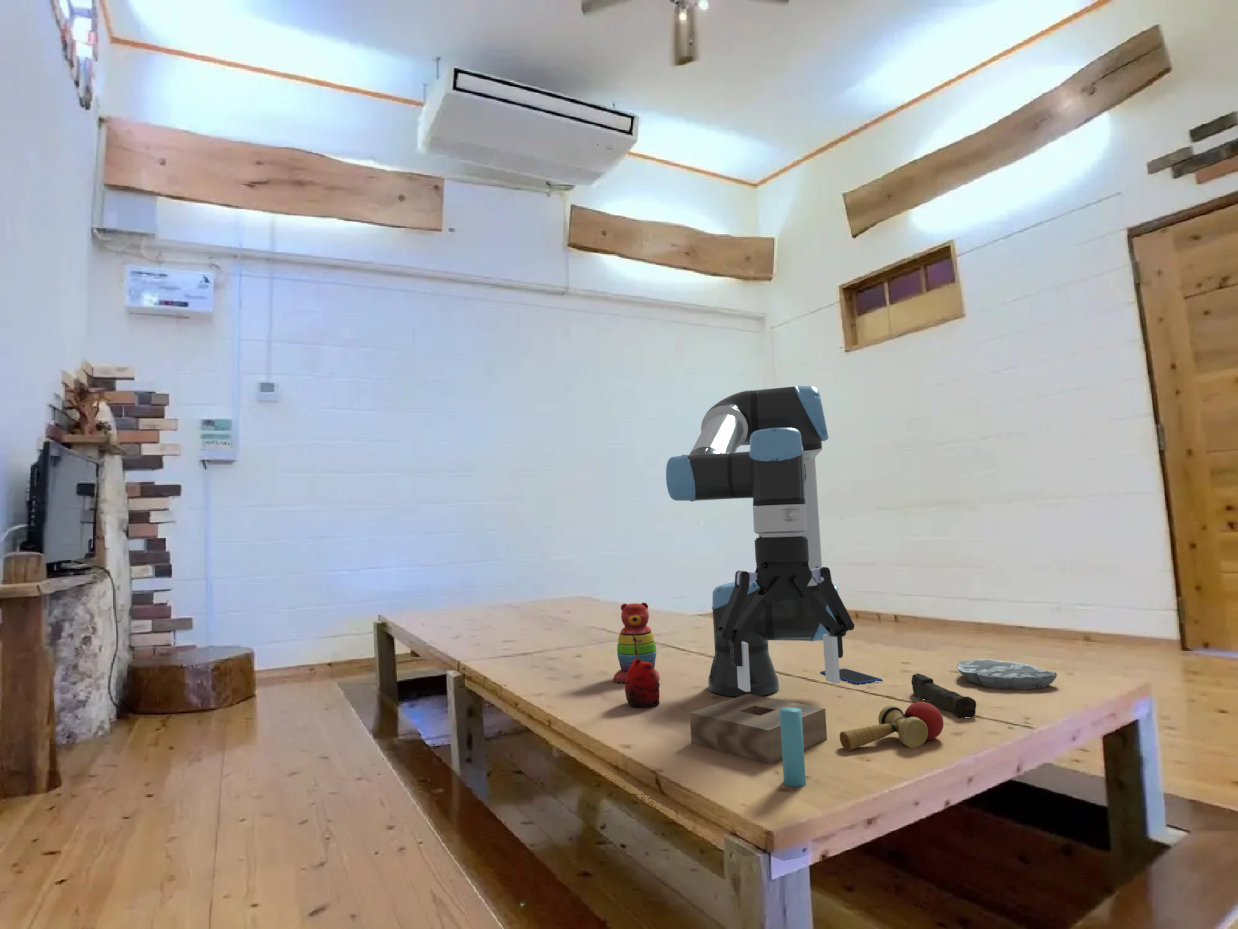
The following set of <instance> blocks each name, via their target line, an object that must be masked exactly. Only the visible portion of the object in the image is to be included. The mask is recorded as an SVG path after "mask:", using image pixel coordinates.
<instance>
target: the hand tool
mask: <svg viewBox="0 0 1238 929" xmlns="http://www.w3.org/2000/svg"><path fill="white" fill-rule="evenodd" d="M910 682H911V683H910V684H911V685H912V686H911V687H912V693H913V694H914V695H915V697H917V698H918V697H919V700H921V699H925V700H924V701H927V700H929V702H932V703H934V704H936V705H938V706H940V707H941V708H943V709H946V710H948V711H949V712H951V713H953V714H955V716H956V717H957V719H966V718H965V717H971V718H973V717H975V715H976V710H977V702H976V700H975V699H973V697H970V696H964V695H961V694H959V693H957V692H955V691H953V690H949V689H947V688H945V687H942V686H940V685H938V684H936V683H935V682H934V679H933V678H931V677H928V676H926V675H924V674H921V673H917V672H916V673H915V674H913V675H911V681H910Z"/></svg>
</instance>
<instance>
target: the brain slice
mask: <svg viewBox="0 0 1238 929" xmlns="http://www.w3.org/2000/svg"><path fill="white" fill-rule="evenodd" d="M955 667H956V670H957V671H958V672H959V673H960V674H961V676H964V677H965V678H966V679H967V680H969V681H970V682H971V683H973V684H977V685H984V686H985V687H988V688H996V689H1012V690H1031V689H1030V688H1033V689H1035V688H1034V687H1044V688H1046V687H1049V685H1051V684H1053V683H1054V682H1055V680H1056V678H1057V676H1058V674H1057V672H1055V671H1051V670H1046V669H1041V668H1039V667H1037V666H1034V665H1032V664H1026V663H1022V662H1014V661H1004V660H998V659H989V658H979V659H977V658H976V659H970V660H964V661H963V660H962V661H959V662H958V663H957V665H956V666H955Z"/></svg>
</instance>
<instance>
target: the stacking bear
mask: <svg viewBox="0 0 1238 929" xmlns="http://www.w3.org/2000/svg"><path fill="white" fill-rule="evenodd" d="M648 608H649V605H648V603H647V602H641V603H637V602H636V603H635V602H634V603H633V602H632V603H622V604H621V605H620V611H621V616H620V618H621V622H622V624H623V626H624V627H623V628H621V630H620V633H619V635H618V639H617V642H618V643H617V647H616V648H617V649H616V651H617V654H616V655H617V659H618V662H619V667H620V669H619V670H618V671H616V673H615V674H614V675H613V678H612V681H613V683H615V682H625V678H626V676H627V671H628V669H629V668H630V666H631V665H632V661H633V660H636V654H635V652H634V649H635V645H634V640H632V639H633V638H634V637H633V636H632V633H633V635H634V636H635V637H636V639H637V640H642V645H641V644H639V643H638V642H636V647H637V649H638V651H637V654H638V657H639V659H640V660H641V661H643V662H650V663H651V664H652V665H653V669H654V671H655V672H656V674H657V678H658V682H660V680H661V678H660V674H659V672H658V671H657V670H656V668H655V666H656V659H657V645H656V641H655V638H654V634H653V632H652V629H651V628H650V627H649V626H647V625H648V622H649V618H650V614H649V610H648Z"/></svg>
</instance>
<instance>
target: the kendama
mask: <svg viewBox="0 0 1238 929" xmlns="http://www.w3.org/2000/svg"><path fill="white" fill-rule="evenodd" d="M877 720H878V724H874V725H870V726H865V727H861V728H860V727H859V728H855V729H851V730H844V731H841V732H840V734H839V741H840V744H841V747H842V748H843V749H845V750H846V751H848V752H851V751H853V750H856V749H857V748H861V747H862V746H866V745H868V744H872V743H874V742H877V741H879V740H881V739H883V738H885V737H887V736H890V735H891V734H893V733H897V734H898V739H899V741H900V742H901V743H902V744H903V745H904V746H906V747H907V748H911V749H913V748H912V747H914V748H919V747H918V746H920V747H921V746H923V744H924V743H925V742H926V741H930V740H934V739H936V738H938V737H939V736H940V734H941V733H942V731H943V728H944V718H943V715H942V713H941V712H940V710H939V709H938V708H937V707H936V706H935V705H933V704H932V703H929V702H925V701H916V702H913V703H911V704H910V705H909V706H908V707H907V708H906V710H905V711H904V712H903V710H902V709H901V708H900V707H898V706H895V705H890V704H889V705H886V706H884V707H882V709H881V710H880V712H879V714H878V719H877Z"/></svg>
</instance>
